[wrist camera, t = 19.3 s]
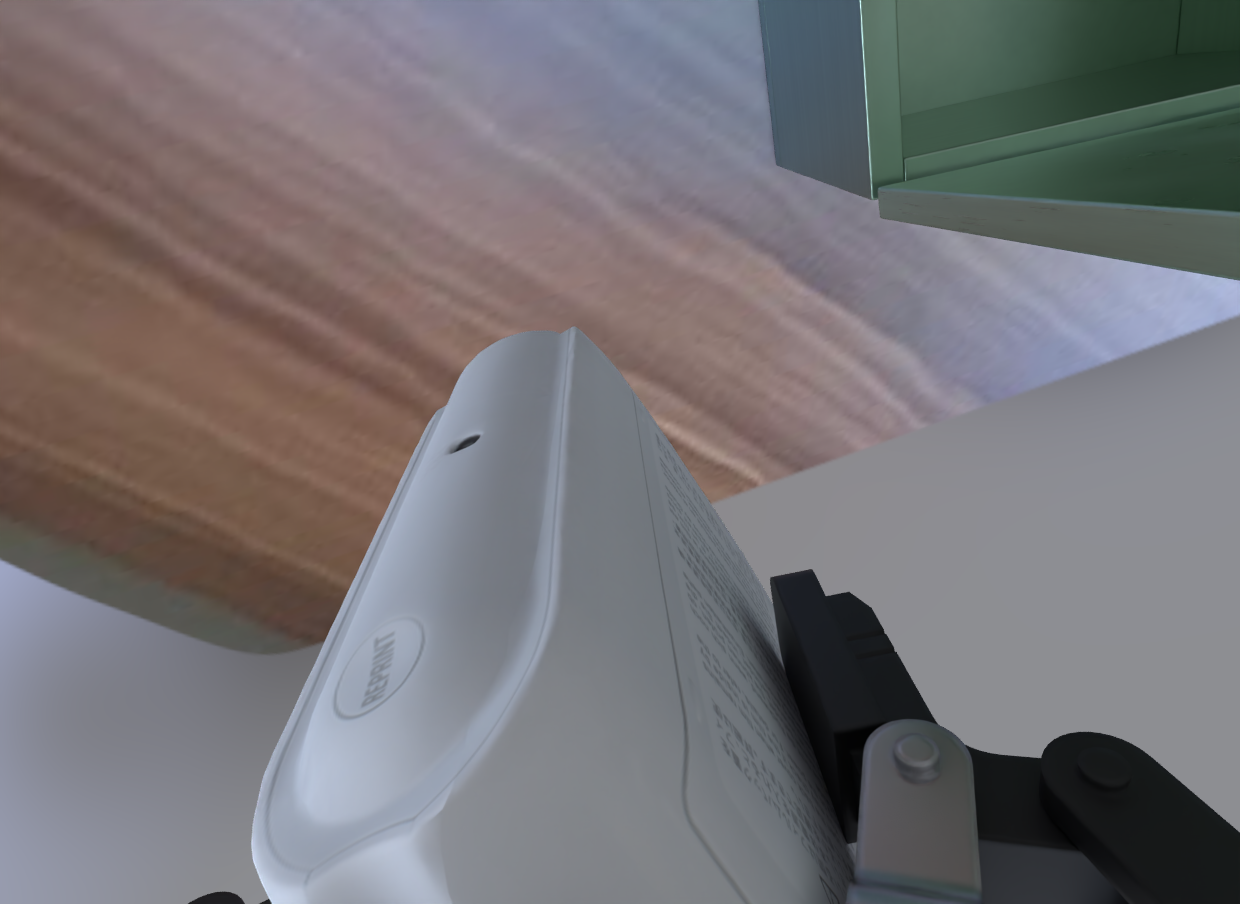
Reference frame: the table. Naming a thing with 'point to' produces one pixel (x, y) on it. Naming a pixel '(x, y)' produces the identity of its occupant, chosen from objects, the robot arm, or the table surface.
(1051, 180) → the lid
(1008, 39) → the box
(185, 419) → the table surface
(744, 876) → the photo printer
